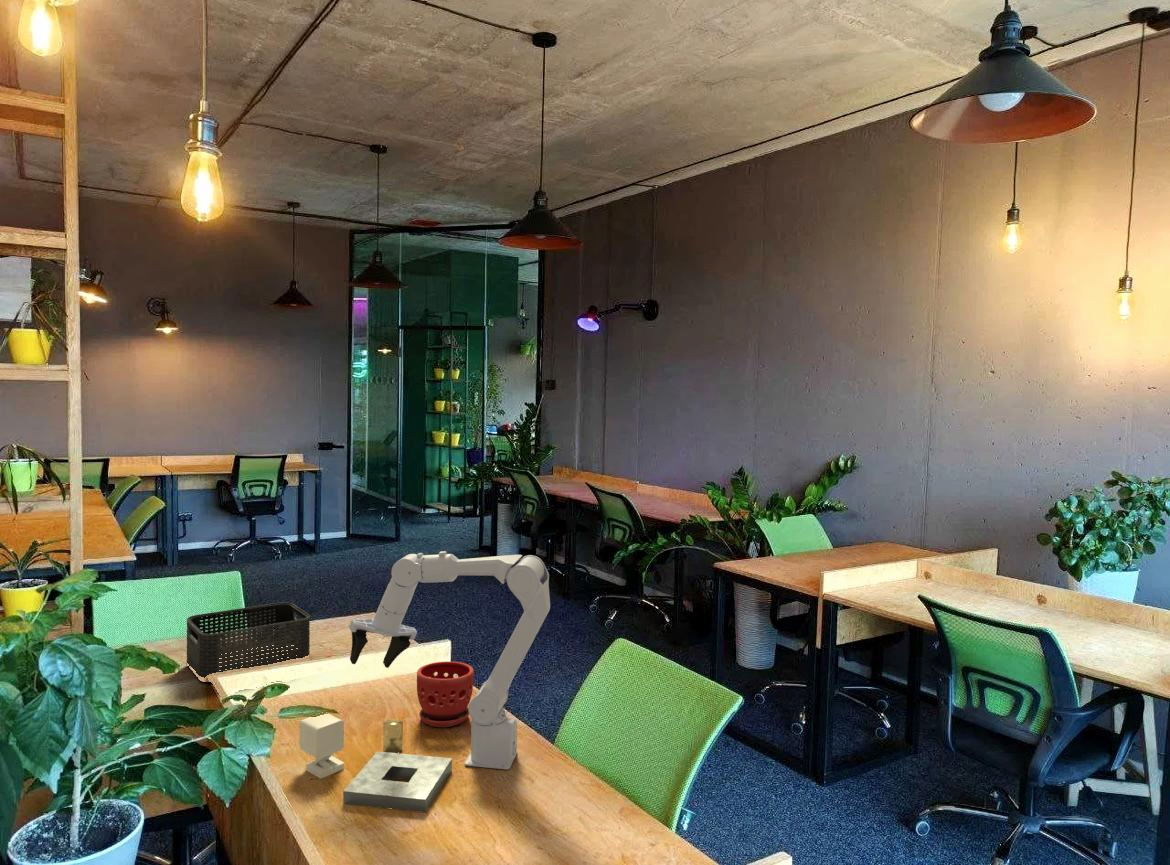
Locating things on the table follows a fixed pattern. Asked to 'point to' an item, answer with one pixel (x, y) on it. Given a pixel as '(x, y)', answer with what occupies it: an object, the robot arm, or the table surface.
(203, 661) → the storage bin
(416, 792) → the jig plate
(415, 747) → the table surface
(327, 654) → the table surface
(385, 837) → the table surface
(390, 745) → the cylinder
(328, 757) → the security camera
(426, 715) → the plant pot
